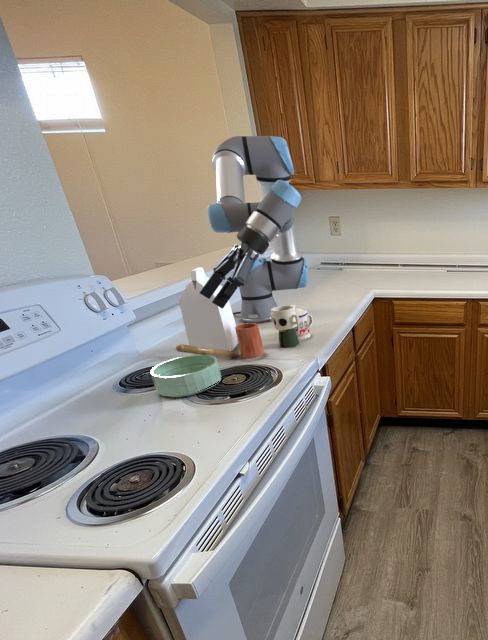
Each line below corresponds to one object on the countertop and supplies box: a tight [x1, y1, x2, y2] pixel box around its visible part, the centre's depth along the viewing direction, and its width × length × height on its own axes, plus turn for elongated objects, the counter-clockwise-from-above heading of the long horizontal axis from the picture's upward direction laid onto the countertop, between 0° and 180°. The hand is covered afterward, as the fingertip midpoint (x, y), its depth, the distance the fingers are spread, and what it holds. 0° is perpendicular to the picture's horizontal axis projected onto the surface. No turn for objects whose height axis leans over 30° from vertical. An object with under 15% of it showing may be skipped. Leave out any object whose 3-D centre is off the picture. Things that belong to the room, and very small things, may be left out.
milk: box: [178, 266, 239, 355], centre depth 130 cm, size 12×12×26 cm
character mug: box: [270, 304, 300, 349], centre depth 134 cm, size 11×7×13 cm, turn 68°
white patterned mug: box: [290, 304, 314, 341], centre depth 143 cm, size 12×9×12 cm
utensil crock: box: [235, 322, 265, 359], centre depth 127 cm, size 6×6×10 cm
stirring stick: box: [175, 343, 240, 359], centre depth 117 cm, size 2×2×24 cm
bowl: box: [150, 354, 223, 398], centre depth 109 cm, size 15×15×6 cm
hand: (210, 300), depth 107 cm, fingers open, 13 cm apart
